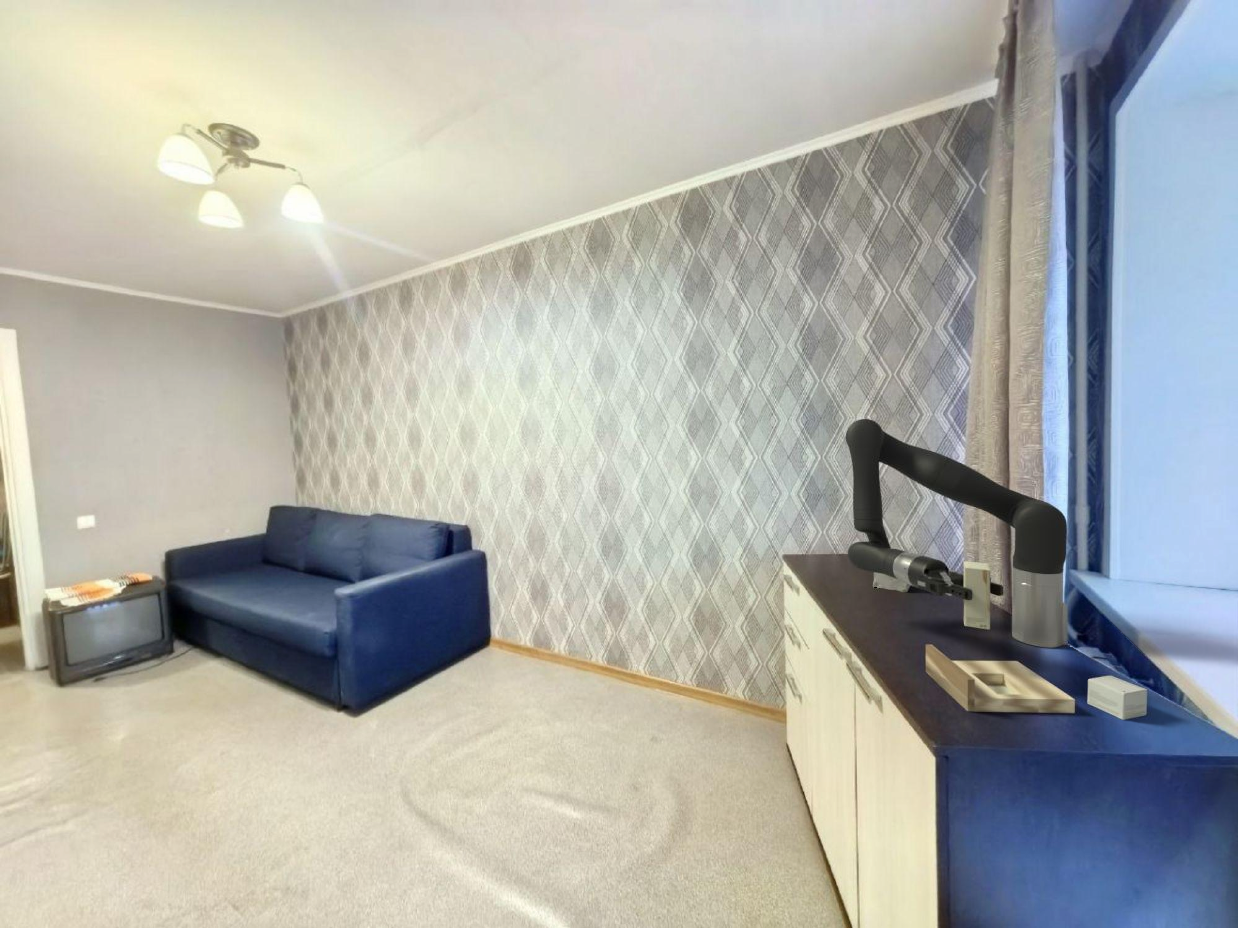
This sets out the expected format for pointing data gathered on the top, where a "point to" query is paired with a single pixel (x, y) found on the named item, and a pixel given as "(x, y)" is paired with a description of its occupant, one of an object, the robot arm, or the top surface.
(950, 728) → the top surface
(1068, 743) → the top surface
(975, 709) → the rack
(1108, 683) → the small box
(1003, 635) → the top surface
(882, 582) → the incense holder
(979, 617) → the skincare box
